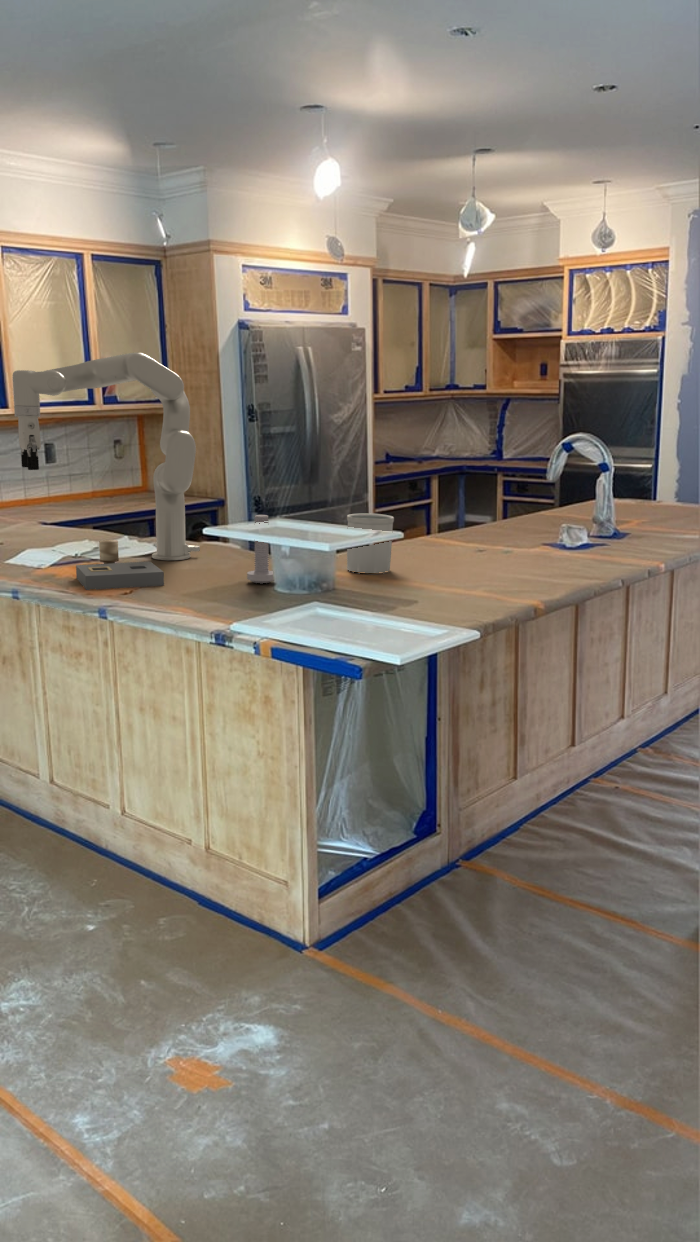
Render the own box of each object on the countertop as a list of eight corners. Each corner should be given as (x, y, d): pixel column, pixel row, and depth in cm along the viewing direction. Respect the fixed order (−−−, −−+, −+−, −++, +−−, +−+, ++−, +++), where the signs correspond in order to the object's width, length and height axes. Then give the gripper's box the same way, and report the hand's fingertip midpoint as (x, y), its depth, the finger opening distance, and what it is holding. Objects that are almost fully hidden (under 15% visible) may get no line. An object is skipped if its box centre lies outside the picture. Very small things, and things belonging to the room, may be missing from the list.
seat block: (150, 574, 307) (149, 560, 306) (163, 585, 291) (163, 571, 290) (76, 578, 298) (75, 564, 297) (86, 590, 282) (85, 575, 281)
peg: (117, 570, 312) (116, 539, 310) (120, 573, 307) (119, 542, 305) (98, 571, 310) (97, 540, 308) (101, 574, 305) (100, 543, 303)
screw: (281, 583, 297) (282, 516, 292) (258, 586, 291) (258, 518, 287) (264, 579, 303) (264, 513, 298) (241, 582, 297) (241, 514, 293)
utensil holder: (375, 565, 330) (376, 511, 326) (401, 572, 318) (403, 517, 314) (337, 568, 322) (338, 514, 318) (362, 576, 310) (363, 520, 306)
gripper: (45, 413, 301) (48, 470, 305) (34, 411, 316) (37, 466, 320) (19, 412, 297) (23, 471, 301) (9, 411, 312) (12, 466, 316)
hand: (30, 468), depth 311 cm, fingers open, 9 cm apart
